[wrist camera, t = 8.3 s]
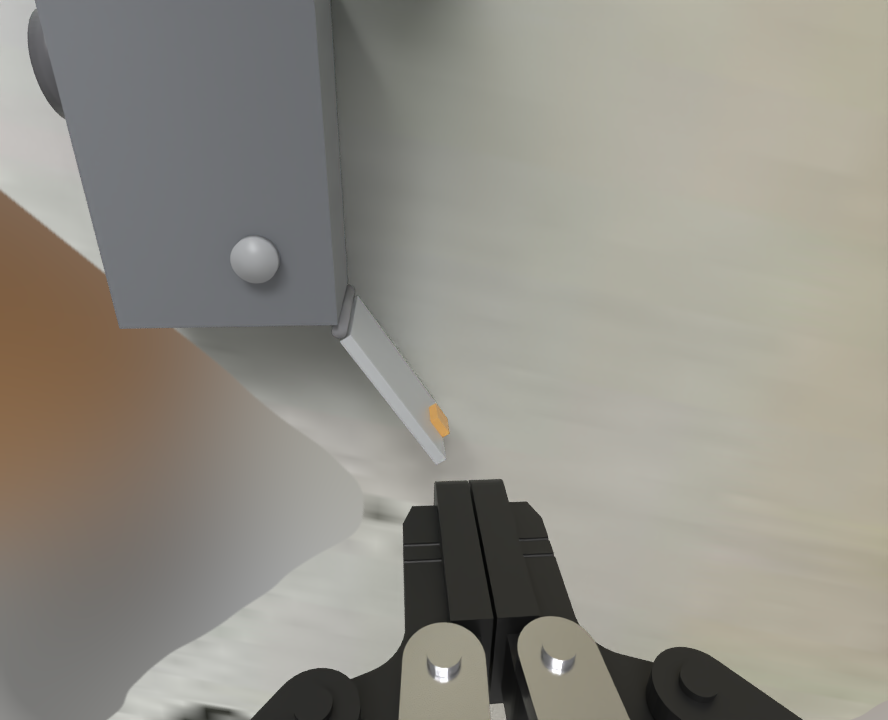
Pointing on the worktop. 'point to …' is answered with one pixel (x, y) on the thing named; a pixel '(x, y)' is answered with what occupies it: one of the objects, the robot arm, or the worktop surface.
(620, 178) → the worktop surface
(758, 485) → the worktop surface
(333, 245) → the grey knobbed box
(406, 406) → the side door
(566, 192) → the worktop surface
